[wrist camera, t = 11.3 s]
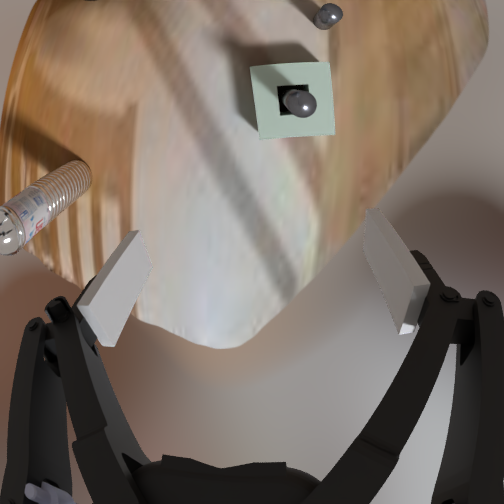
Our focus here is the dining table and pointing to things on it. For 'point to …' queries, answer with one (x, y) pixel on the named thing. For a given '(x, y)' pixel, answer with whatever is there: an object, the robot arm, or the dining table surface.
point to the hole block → (286, 123)
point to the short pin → (327, 16)
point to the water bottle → (41, 204)
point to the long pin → (299, 102)
